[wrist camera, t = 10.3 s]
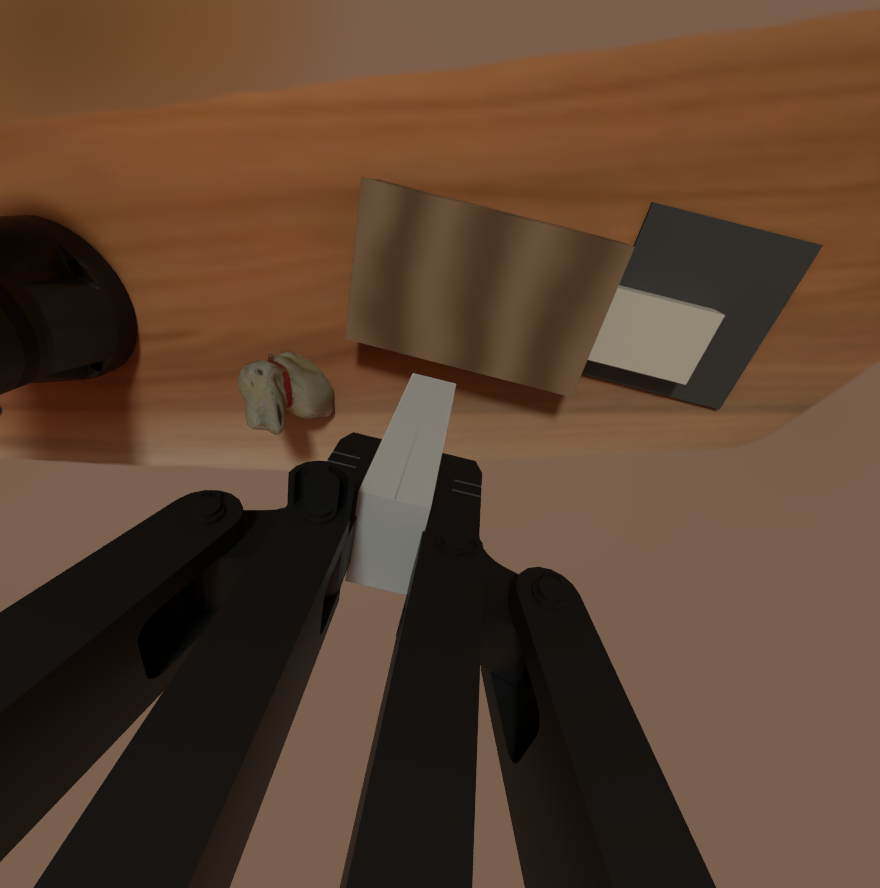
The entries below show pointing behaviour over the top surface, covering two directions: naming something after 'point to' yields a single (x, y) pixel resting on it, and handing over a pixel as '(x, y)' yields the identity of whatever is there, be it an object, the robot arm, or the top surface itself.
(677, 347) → the block
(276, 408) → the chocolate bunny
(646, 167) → the top surface
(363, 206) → the brown wooden flat slab
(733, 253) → the mat
